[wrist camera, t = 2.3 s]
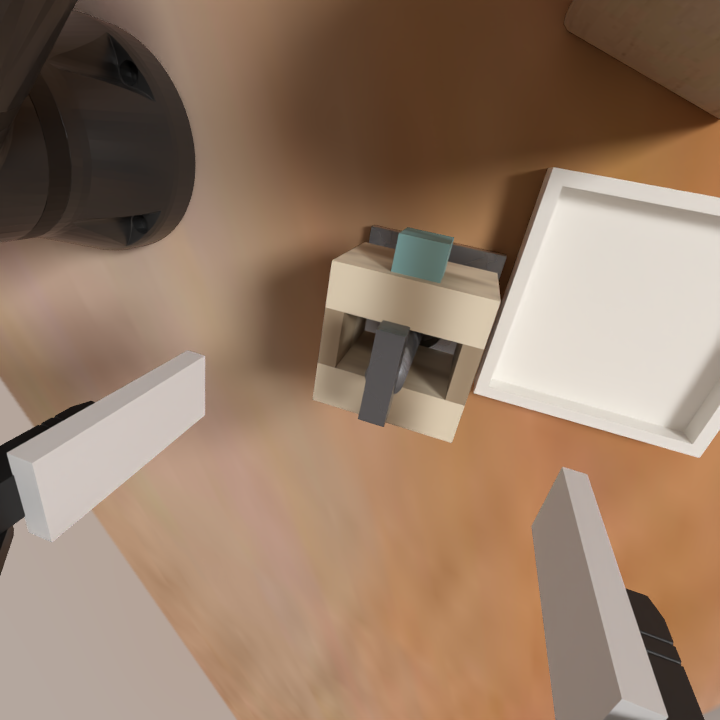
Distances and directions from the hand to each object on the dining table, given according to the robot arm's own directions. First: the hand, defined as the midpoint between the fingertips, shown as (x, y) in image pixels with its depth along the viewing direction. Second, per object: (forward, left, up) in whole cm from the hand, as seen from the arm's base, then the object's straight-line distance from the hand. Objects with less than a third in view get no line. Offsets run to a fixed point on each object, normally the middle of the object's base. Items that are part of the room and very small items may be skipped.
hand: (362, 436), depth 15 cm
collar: (0, 0, -13) cm, 13 cm away
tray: (+12, +3, -17) cm, 21 cm away
